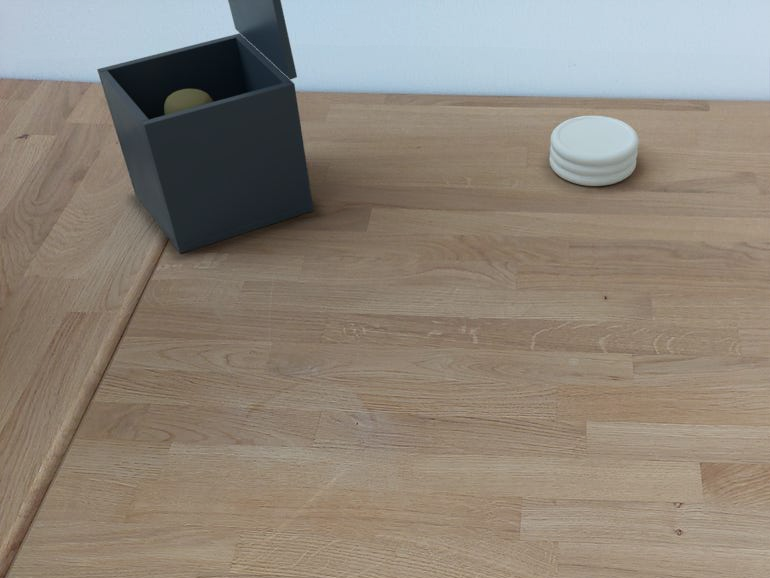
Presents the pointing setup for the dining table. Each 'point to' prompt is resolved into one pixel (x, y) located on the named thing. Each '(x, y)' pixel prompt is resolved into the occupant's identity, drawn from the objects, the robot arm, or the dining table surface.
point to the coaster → (593, 150)
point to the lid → (265, 30)
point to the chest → (210, 140)
